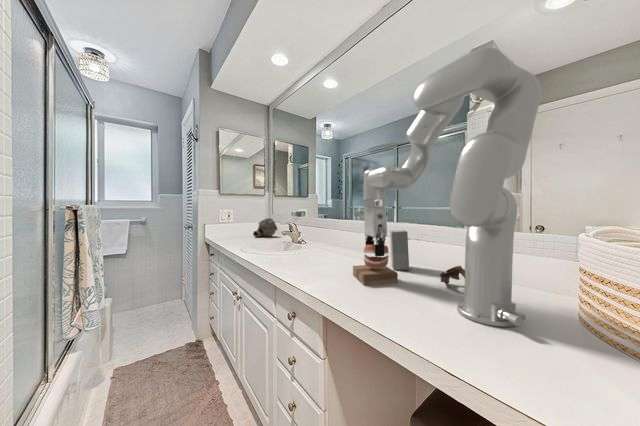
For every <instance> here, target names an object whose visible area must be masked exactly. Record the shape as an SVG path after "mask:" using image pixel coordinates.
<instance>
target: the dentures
mask: <svg viewBox="0 0 640 426" xmlns="http://www.w3.org/2000/svg"><path fill="white" fill-rule="evenodd" d="M364 245H365V246H364V248H363V254H364V255H363V260H364V261H363V262H364V265H366V266H368V267H372V268H381V267H385V266H388V262H389V255H387V254H389V247H388V246H387V245H386V244H384V255H386V256H368V255H367V254H375V244H374V245H366V244H364Z"/></svg>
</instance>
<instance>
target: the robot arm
mask: <svg viewBox="0 0 640 426" xmlns="http://www.w3.org/2000/svg"><path fill="white" fill-rule="evenodd" d="M469 94H473V95H475V96H476V97H478V98H480V99H482V100H484V101H487V102H490V103H492V104H493V105H494V107H493V109H492V110H491V112H490V115H489V116H488V117H489V118H488V120H487V126H486V130H485V132H482V133H478V134H477V135H474V137H472V138H471V139H469V141H468V142H467V143H466V144H465V145H464V147H463V148H462V150H461V153H460V155H459V158H458V161H457V166H456V169H455V174H454V179H453V184H452V188H451V193H450V198H449V211H450V213H451V216H452V217H453V218H454V220H455V221H456V222H458V223H459V224H460V225H463V226H464V227H467V231H466V235H465V249H464V257H465V258H464V259H465V260H464V269H465V278H464V294H463V295H464V297H463V298H464V299H463V300H461V301H459V302H457V305H456V306H457V307H456V310H457V312H458V313H459V314H461V315H462V316H463V317H464V318H467V319H469V320H471V321H474V322H477V323H479V324H483V325H488V326H492V327H502V328H505V327H507V328H509V327H515V326H517V327H519V326H521V325H522V324H523V322H524V321H526V318H527V316H526V315H525V314H524V313H522V312H520V311H519V312H518V311H517V309H516V307H517V305H516V304H517V303H515V302H513V301H512V295H513V294H512V291H513V289H512V288H513V260H514V259H513V258H514V257H513V256H514V255H513V254H514V240H515V239H514V237H515V229H516V228H515V227H516V222H517V215H518V204H517V203H518V202H517V200H516V198H515V196H514V194H513V193H512V192H511V191H510V190H508V189H507V188H505V187H504V183H505V180H507V179H510V178H511V177H512V178H513V177H514V176H516V175H517V174H519V172H521V170H522V168H523V167H524V165H525V161H526V158H527V155H528V154H527V153H528V149H529V145H530V141H531V138H532V134H533V130H534V126H535V121H536V117H537V113H538V110H539V107H540V103H541V97H542V88H541V83H540V81H539V79H538V77H536V75H534V74H533V73H532V72H530V71H528V70H526V69H524V68H522V67H521V66H518V65H517V64H516V63H514V62H513V60H511V59H509V58H508V57H507V55H505V53H503V52H502V51H501V50H499V49H497V48H495V47H490V46H487V47H481V48H478V49H476V50H473V51H471V52H468V53H467V54H465V55H463V56H461V57H459V58H458V59H456V60H454V61H452V62H450V63H448V64H446V65H445V66H443V67H441V68H439V69H438V70H436V71H434V72H433V73H432V74H430V75H428V76H427V77H426V78H424V79H423V81H421V82H420V83H419V85H418V86H417V88H416V89H415V91H414V95H413V103H414V106H415V107H416V108H417V109H418V110H420V111H419V112H418V114H417V115H416V117H415V118H414V120H413V121H412V123H411V125H410V126H409V128H408V129H407V131H406V139H407V140H408V141H409V143H410V146H411V147H410V150H411V151H410V154H409V156H408V158H407V160H406V161H405V162H404V164H403V165H402V166H396V165H395V166H393V165H384V166H381V167H378V168H373V169H367V170H365V171H364V172H363V209H364V210H365V211H364V235H365V238H364V240H365V245H375V253H374V257H385V254H384V245H386V242H385V241H386V238H387V236H388V223H387V212H386V190H398V191H399V190H406V189H409V188H411V187H412V186H413V185H415V183H416V182H417V181H418V179H419V178H420V177H421V176H422V174H423V173H424V171H426V170H425V169H426V168H427V166H428V163H429V159H430V157H431V151H432V147H433V146H434V144H435V143H436V142H437V140H438V139H439V138H440V136H441V135H442V134H443V132H444V131H445V129H447V127H448V125H449V124H450V123H451V121H452V120H453V119H454V117H455V116H456V115H457V114H458V112H459V110H460V109H461V108H462V105H463V104H464V101H465V96H466V95H469Z"/></svg>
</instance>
